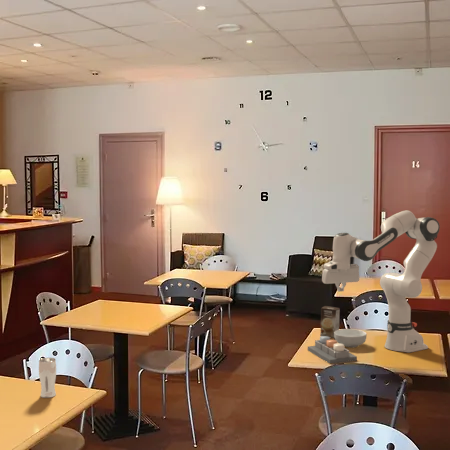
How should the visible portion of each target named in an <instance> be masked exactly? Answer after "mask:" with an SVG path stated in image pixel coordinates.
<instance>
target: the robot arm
mask: <svg viewBox="0 0 450 450" xmlns="http://www.w3.org/2000/svg"><path fill="white" fill-rule="evenodd" d="M440 225H441V224H440V223H439V221H438V220H437V219H436V218H434V217H431V216H427V217H418V218H417V217H416V215H415V214H414V213H413V212H412V211H411V210H408V209H407V210H402V211H400V212H397V213H395V214H392V215H391V216H389V217H387V218H385V219H384V220H383V221H382V222H381V225H380V230H381V234H379V235H378V236H376V237H375V238H373V239H371V240H363V239H359V238H357V237H354V236H353V235H351V234H350V233H349V232H340V233H337V234H335V235H334V237H333V241H332V253H333V254H332V259H331V260H330V261H328V262H325V263H324V264H323V268H324V269H323V270H322V274H321V282H322V283H323V284H325V285H329V284H335V287H336V289H337V292H344V291H345V287H346V285H347V283H358V282H360V271H359V270H360V266H359V265H358V264H357V263H351V258H356V259H359V260H362V261H364V262H369V261H371V260H373V259H374V258H375V257H376V255H377V254H379V252H380V251H382V249H384V248H385V247H387V246H389V245H390V244H391V243H392V242H394V241H395V240H396V239H397V238H398V237H400V236H401V235H404V234H405V235H406V236H407V237H408V238H410V239H413V240H415V241H416V242H415V244H414V246H413V248H411V250H410V251H409V253H408V255H407V256H406V257H405V259H404V260H403V267H404V271H403V273H397V272H384V274H382V275H381V277H380V280H379V285H380V288H381V289H382V290H383V292H384V294H385V297H386V299H387V305H388V319H387V327H386V328H387V335H386V340H385V344H384V348H386V349H387V350H391V351H396V352H403V353H413V352H419V351H422V350H423V351H424V350H427V349H429V346H428V345H427V344H426V343H424V337H423V335H422V334H420V333H419V332H418V331H417V330H415V328H416V327H417V326H418V323H417V322H413V321H411V312H412V311H411V309H412V308H411V306H410V304H409V303H408V301H407V299H406V298H409V299H410V298H411V299H413V298H415V299H416V298H417V297H419V296H420V295H421V294H422V291H423V284H422V279H421V278H422V275H423V273H424V272H425V270H426V269H427V267H428V266H429V264H430V262H431V261H432V259H433V257H434V255H435V253H436V251H437V248H438V244H437V242H436V241H435V240H436V239H437V238H438V235H439V233H440V228H441V227H440ZM340 286H341V287H340Z"/></svg>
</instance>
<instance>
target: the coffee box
mask: <svg viewBox="0 0 450 450" xmlns="http://www.w3.org/2000/svg"><path fill="white" fill-rule="evenodd" d="M340 312H341V311H340V307H335V306H328V305H324V306H322V307H321V309H320V334H319V335H320V336H319V337H321V336H328V337H330V339H331V338H333V339H335V337H334V332H335V331H336V330H340Z"/></svg>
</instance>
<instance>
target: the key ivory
mask: <svg viewBox="0 0 450 450" xmlns="http://www.w3.org/2000/svg"><path fill="white" fill-rule="evenodd" d="M344 348H345V346H344V344H340V343H338V342H337V343H336V344H334V351H336V352H341V351H344Z"/></svg>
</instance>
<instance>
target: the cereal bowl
mask: <svg viewBox="0 0 450 450" xmlns="http://www.w3.org/2000/svg"><path fill="white" fill-rule="evenodd" d="M334 337H335V338H334V340H336V341H337V343H340V344H344V348H353V349H354V348H357V347H359V346H361V345H363V344H365V342H366V341H367V332H366V331H364V330H362V329H356V328H341V329H340V328H339V330H336V331H335V332H334Z"/></svg>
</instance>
